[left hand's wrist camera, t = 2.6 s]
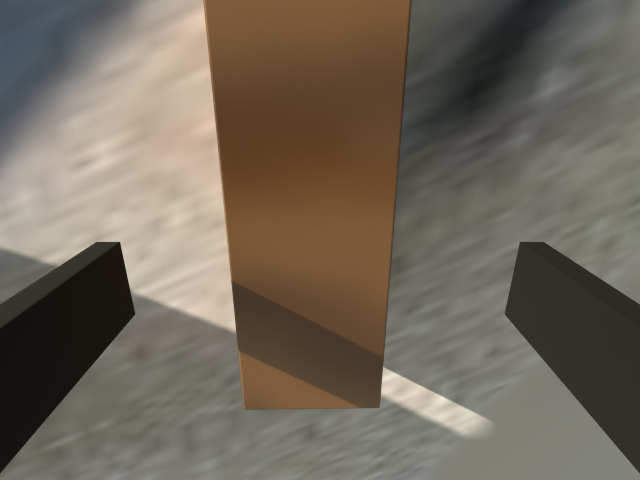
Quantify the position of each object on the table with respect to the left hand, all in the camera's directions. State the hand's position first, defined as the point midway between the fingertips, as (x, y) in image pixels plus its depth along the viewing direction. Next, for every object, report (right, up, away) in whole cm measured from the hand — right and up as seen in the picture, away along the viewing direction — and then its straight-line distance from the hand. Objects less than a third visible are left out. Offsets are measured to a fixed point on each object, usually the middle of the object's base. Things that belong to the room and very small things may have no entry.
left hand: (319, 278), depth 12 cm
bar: (0, +22, +1) cm, 22 cm away
